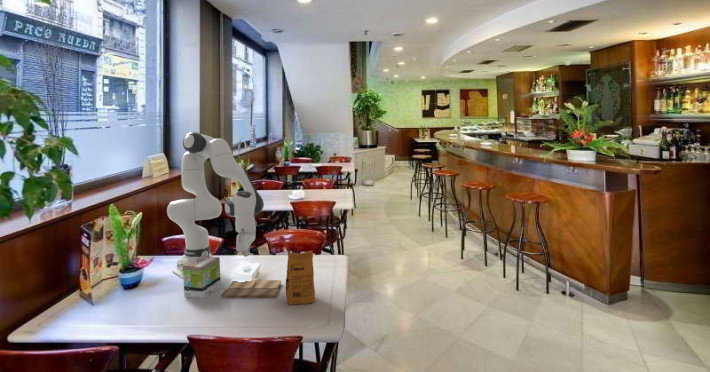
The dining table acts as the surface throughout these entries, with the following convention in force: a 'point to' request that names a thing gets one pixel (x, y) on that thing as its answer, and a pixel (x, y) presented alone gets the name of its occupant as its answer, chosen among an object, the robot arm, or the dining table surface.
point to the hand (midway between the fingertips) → (246, 255)
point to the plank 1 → (242, 285)
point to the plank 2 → (267, 284)
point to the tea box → (201, 276)
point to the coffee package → (300, 278)
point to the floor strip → (249, 293)
